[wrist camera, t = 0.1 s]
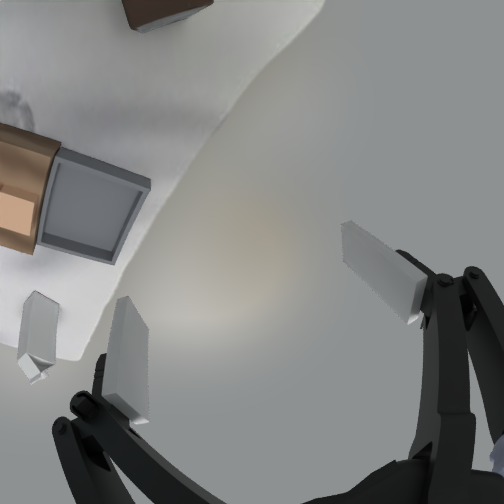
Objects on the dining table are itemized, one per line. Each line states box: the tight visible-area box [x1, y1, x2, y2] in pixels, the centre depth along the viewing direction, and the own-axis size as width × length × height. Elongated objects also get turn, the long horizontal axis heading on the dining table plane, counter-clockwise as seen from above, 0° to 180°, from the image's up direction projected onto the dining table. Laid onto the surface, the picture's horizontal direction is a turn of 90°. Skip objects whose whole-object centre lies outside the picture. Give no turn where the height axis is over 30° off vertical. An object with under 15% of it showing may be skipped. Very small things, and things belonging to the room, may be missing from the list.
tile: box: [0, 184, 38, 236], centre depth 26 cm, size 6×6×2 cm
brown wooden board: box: [0, 123, 61, 255], centre depth 26 cm, size 18×14×5 cm
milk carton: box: [17, 291, 59, 385], centre depth 40 cm, size 7×7×19 cm
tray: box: [37, 147, 151, 265], centre depth 36 cm, size 17×15×3 cm
